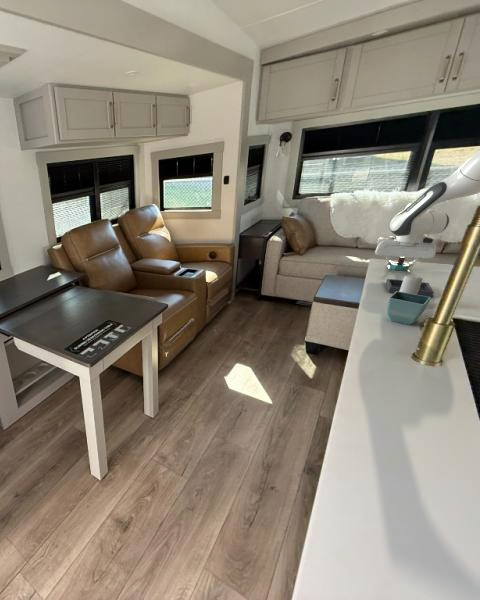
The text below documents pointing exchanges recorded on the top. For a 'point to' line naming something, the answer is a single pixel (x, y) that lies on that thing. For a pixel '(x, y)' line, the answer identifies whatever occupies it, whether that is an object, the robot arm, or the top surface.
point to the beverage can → (411, 284)
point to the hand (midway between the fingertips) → (399, 265)
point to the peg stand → (400, 263)
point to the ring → (399, 266)
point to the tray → (396, 284)
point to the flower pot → (406, 307)
